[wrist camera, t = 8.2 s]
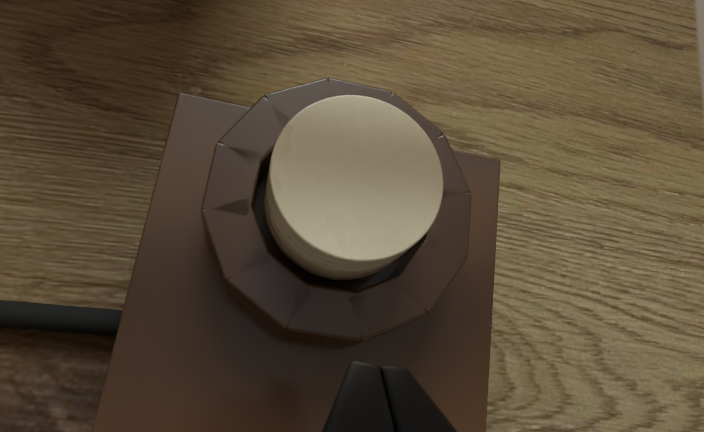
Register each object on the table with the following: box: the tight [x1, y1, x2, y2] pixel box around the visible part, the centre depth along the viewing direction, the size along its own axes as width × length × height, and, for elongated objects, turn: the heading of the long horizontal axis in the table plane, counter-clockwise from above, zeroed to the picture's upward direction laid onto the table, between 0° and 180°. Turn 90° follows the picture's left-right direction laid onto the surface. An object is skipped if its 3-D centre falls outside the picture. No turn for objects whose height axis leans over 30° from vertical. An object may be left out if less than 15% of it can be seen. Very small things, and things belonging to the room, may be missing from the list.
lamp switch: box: [264, 95, 443, 281], centre depth 14 cm, size 4×4×2 cm
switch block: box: [92, 78, 500, 432], centre depth 17 cm, size 12×10×6 cm
